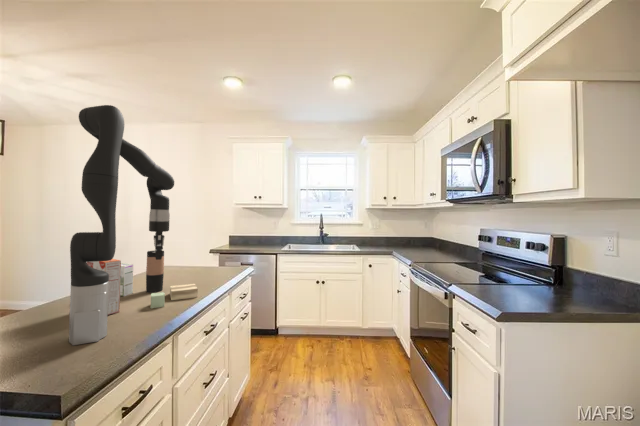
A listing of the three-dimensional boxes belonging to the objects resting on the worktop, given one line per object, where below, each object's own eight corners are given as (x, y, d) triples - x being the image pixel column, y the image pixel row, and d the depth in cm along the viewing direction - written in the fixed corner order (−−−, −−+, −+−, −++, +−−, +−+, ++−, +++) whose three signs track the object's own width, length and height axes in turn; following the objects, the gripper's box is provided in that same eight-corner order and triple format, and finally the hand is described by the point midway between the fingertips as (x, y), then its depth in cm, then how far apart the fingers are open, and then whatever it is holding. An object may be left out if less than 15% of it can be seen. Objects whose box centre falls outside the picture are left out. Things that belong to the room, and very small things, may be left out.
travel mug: (146, 289, 142) (148, 250, 142) (163, 288, 145) (165, 250, 145) (144, 293, 135) (145, 252, 135) (162, 292, 138) (163, 252, 138)
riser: (197, 297, 131) (197, 288, 131) (171, 300, 126) (171, 291, 126) (194, 291, 141) (194, 283, 141) (170, 294, 135) (170, 285, 135)
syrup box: (133, 293, 135) (134, 263, 135) (123, 296, 129) (124, 265, 129) (122, 292, 135) (123, 262, 136) (112, 295, 130) (113, 265, 130)
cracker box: (84, 310, 111) (86, 257, 111) (101, 305, 116) (103, 256, 116) (102, 317, 104) (104, 261, 104) (120, 312, 109) (121, 259, 109)
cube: (164, 306, 117) (164, 295, 117) (150, 308, 115) (150, 296, 115) (163, 303, 121) (164, 292, 122) (150, 305, 119) (151, 293, 119)
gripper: (170, 221, 114) (169, 260, 114) (168, 219, 126) (167, 255, 126) (149, 220, 110) (147, 261, 110) (149, 219, 122) (148, 255, 122)
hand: (158, 257), depth 118 cm, fingers open, 8 cm apart
